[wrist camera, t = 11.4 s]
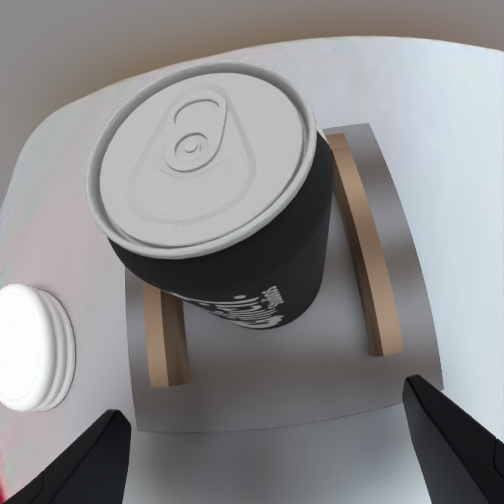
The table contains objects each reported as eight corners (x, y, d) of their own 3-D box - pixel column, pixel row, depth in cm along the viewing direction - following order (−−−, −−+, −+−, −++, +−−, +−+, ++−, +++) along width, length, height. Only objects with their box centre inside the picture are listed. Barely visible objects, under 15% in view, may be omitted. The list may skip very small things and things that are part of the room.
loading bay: (437, 387, 15) (467, 393, 11) (145, 428, 17) (110, 439, 13) (366, 131, 21) (373, 93, 17) (135, 181, 23) (109, 153, 19)
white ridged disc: (11, 291, 23) (-16, 282, 19) (82, 291, 21) (51, 279, 18) (6, 396, 19) (-22, 395, 16) (80, 422, 18) (48, 427, 15)
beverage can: (205, 330, 17) (48, 278, 6) (211, 222, 19) (108, 79, 8) (324, 329, 16) (356, 271, 5) (319, 216, 18) (316, 39, 7)
